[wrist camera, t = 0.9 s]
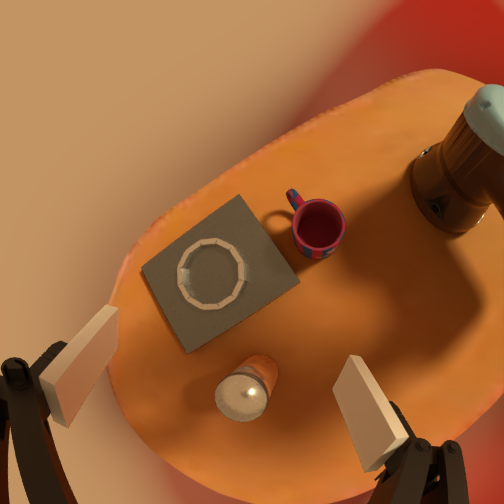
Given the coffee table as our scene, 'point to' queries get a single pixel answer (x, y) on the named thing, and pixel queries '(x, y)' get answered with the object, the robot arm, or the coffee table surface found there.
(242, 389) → the disc
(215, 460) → the coffee table surface
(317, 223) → the mug
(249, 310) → the grey base plate
